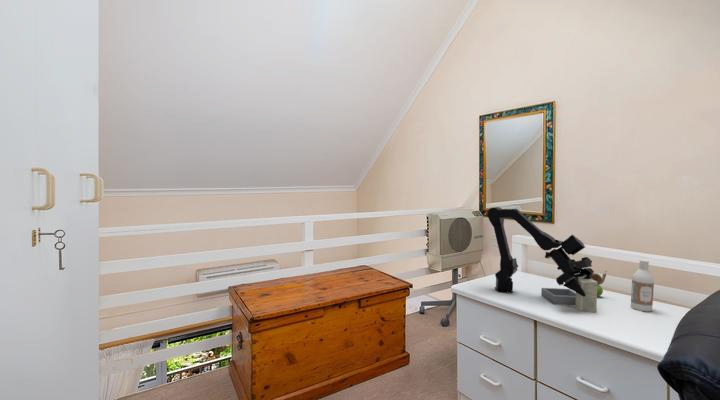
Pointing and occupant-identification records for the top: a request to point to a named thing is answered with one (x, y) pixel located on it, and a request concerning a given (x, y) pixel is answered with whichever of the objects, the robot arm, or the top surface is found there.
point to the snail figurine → (599, 280)
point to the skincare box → (587, 295)
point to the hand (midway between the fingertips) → (589, 294)
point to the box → (559, 296)
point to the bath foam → (642, 288)
